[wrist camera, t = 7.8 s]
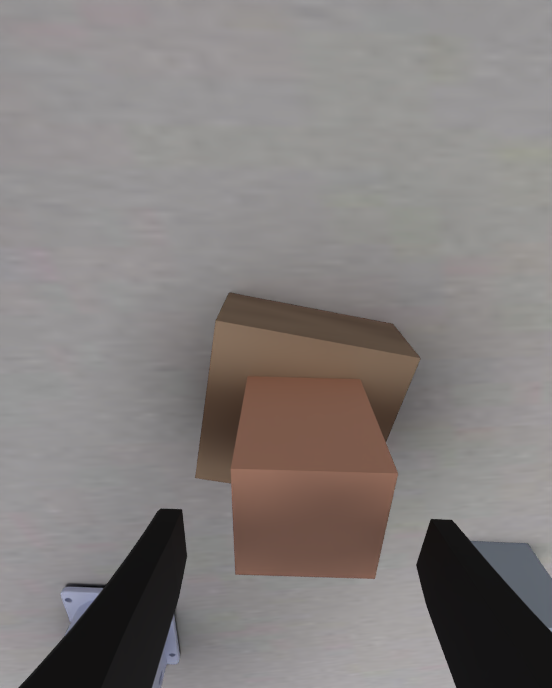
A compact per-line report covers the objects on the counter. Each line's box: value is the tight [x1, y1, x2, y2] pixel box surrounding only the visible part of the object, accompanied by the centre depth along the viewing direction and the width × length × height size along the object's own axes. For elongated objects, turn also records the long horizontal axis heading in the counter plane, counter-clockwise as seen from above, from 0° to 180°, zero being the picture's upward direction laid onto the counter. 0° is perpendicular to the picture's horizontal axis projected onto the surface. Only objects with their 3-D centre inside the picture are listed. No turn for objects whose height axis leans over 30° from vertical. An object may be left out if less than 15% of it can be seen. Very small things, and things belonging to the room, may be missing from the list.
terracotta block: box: [231, 376, 398, 579], centre depth 13 cm, size 4×4×5 cm
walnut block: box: [195, 293, 420, 483], centre depth 17 cm, size 8×8×4 cm
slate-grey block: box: [471, 541, 552, 632], centre depth 22 cm, size 4×4×5 cm
